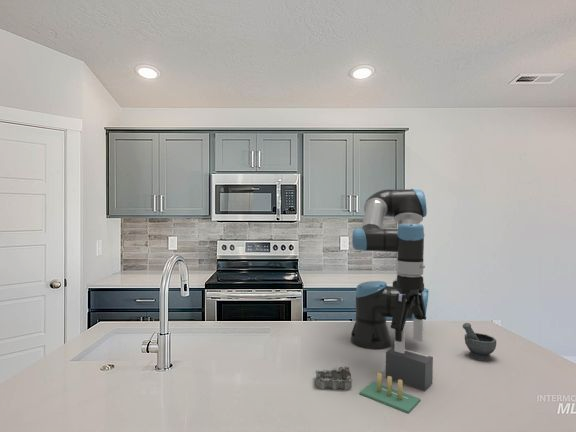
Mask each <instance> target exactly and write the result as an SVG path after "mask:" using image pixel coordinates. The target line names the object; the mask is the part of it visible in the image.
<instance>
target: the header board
mask: <svg viewBox="0 0 576 432" xmlns="http://www.w3.org/2000/svg"><path fill="white" fill-rule="evenodd" d="M376 376H377V377H376V378H377V379H376V381H372V382H370V383H369V384H368V385H366V386H365V387H364V388H362V389H361V390H360V391H359V395H361V396H364V397H366V398H368V399H371V400H373V401H376V402H379V403H381V404H383V405H386V406H389V407H391V408H394V409H396V410H398V411H401V412H404V413H406V414H410V412H411V411H412V410H413V409H414V408H416V406H417V405H418V404H419V403H420V402H421V398H420V397H418V396H413V395H411V394H408V393H406V392H403V385H404V384H403V381H402V380H398V382H397V389H395V388H393V387H392V386H393V380H392V377H391V376H387V378H386V380H387V383H386V385H383V382H382V381H383V378H382V376H383V375H382V373H381V372H377V374H376Z"/></svg>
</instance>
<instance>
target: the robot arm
mask: <svg viewBox="0 0 576 432" xmlns="http://www.w3.org/2000/svg"><path fill="white" fill-rule="evenodd" d="M427 211H428V210H427V200H426V195H425V192H424V191H423V190H421V189H415V188H411V189H382V190H380V191H377V192H375V193H373V194H372V195H370V196H369V197H368V198H367V199H366V200H365V202H364V205H363V212H364V215H363V219H362V222H361V223H362V224H361V227H358V228H353V230H352V236H351V238H352V241H351V243H352V244H351V245H352V248H353V249H354V250H355V251H363V252H393V253H396V278H395V279H394V280H393V281H392V285H391V286H390V285H388V284H387V282H386V281H381V280H371V281H363V282H362V283H359V284H357V285H356V291H355V322H354V325H353V328H352V330H351V334H350V342H351V343H352V344H354V345H355V346H358V347H361V348H363V349H364V348H365V349H372V350H377V349H380V350H381V349H385V348H388V347H390V346H391V342H392V341H391V335H390V332H389V329H388V324H387V318H392V319H391V323H390V328H391V329H394V346H395V349H394V351H396V352H399V353H403V354H404V353H405V349H406V345H405V343H406V342H405V340H406V330H405V329H404V328H405V326H406V325H405V324H406V321H407V320H411V321H413V322H412V323H413V325H412V326H413V328H412V329H413V330H412V331H413V333H412V339H413V340H414V341H419V342H423V340H424V339H423V337H424V336H423V335H424V332H423V331H424V321H426V320H427V316H426V315H427V307H428V302H429V289H428V288H427V287H425V283H424V276H423V275H424V269H425V268H426V266H425V265H424V254H425V253H424V252H425V251H424V250H425V249H424V247H425V244H424V243H425V239H424V238H425V231H424V229H425V228H424V225H423V224H421V223H422V221H423V220H424V218H426V217H427V213H428V212H427ZM385 217H393V221H394V222H395V223H396V225H397V227H396V228H384V218H385Z"/></svg>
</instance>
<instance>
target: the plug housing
mask: <svg viewBox="0 0 576 432" xmlns="http://www.w3.org/2000/svg"><path fill="white" fill-rule="evenodd" d="M394 349H395V345H394V346H393V347H391V348H389V349H388V350H386V351H385V379H387V376H391V377H392V381H394V382H397V383H398V380H402V381H403V385H406V386H408V387H411V388H414V389H417V390H421V391H423V392H426V391H427V390H428V389H429V388H430V387H431V386H432V385H433V382H434V381H433V380H434V378H433V377H434V374H433V373H434V371H433V369H434V368H433V367H434V366H433V364H434V357H433V356H432V355H427V354H423V353H421V352H416V351H413V350H410V349H406V348H405V353H404V354H403V353H399V352H396V351H394Z"/></svg>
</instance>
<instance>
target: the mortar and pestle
mask: <svg viewBox="0 0 576 432" xmlns="http://www.w3.org/2000/svg"><path fill="white" fill-rule="evenodd" d="M462 329H464V331H465V333H466V334H464V342H465V345H466V347H467V348H468V350H469V351H470V352H469V355H470V357H471V358H472V359H475V360H479V361H490V359H491V354H492V353H494V352H495V350H496V347H497V339H496V338H495V337H494V336H491V335H488V334H485V333H478V332H475V331H474V330H473V328H472V325H471V323H470V322H465V323H463V324H462Z"/></svg>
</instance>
